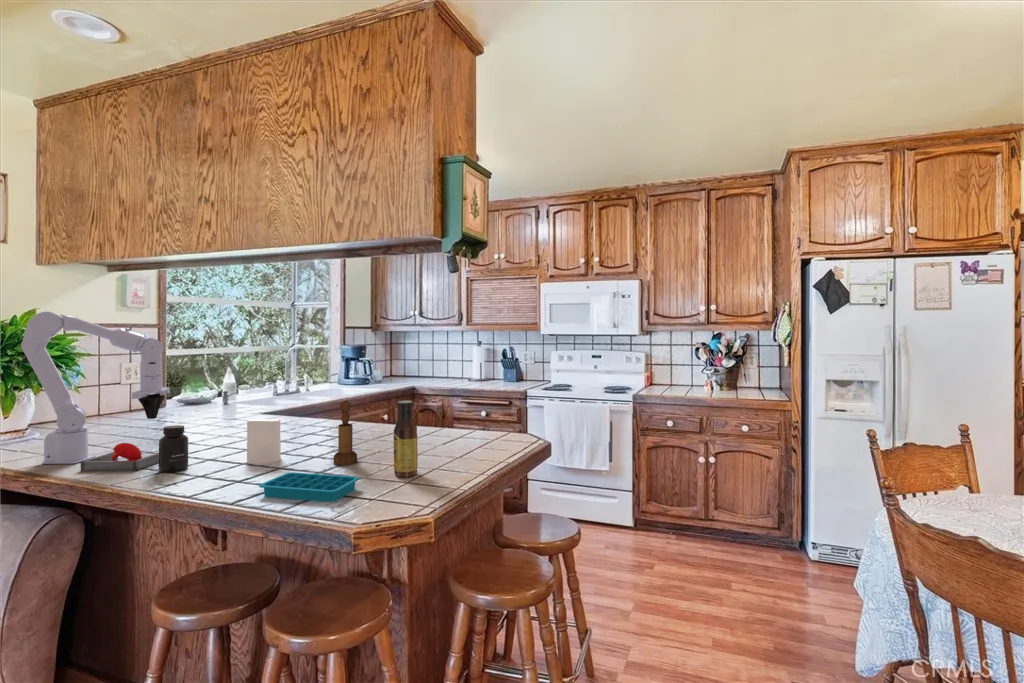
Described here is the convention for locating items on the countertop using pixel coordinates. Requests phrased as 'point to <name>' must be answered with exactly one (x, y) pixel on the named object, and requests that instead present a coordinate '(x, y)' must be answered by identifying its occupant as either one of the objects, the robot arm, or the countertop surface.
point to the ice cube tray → (309, 486)
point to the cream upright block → (263, 441)
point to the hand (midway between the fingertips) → (151, 418)
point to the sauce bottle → (405, 441)
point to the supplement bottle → (173, 449)
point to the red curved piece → (127, 452)
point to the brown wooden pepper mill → (345, 439)
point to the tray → (117, 463)
